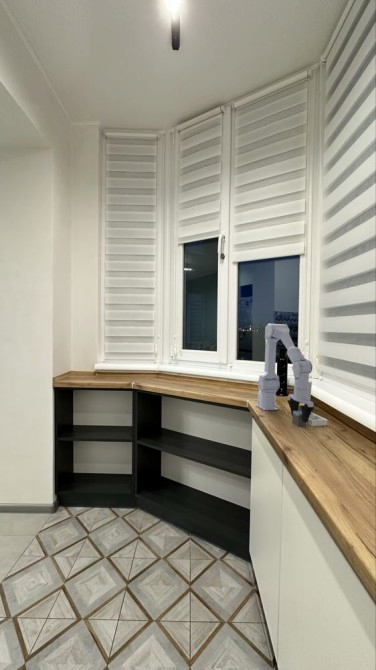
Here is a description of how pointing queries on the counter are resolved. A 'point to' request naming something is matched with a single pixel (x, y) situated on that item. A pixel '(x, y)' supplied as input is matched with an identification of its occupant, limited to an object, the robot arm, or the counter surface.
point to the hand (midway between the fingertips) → (299, 419)
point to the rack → (316, 420)
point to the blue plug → (298, 418)
